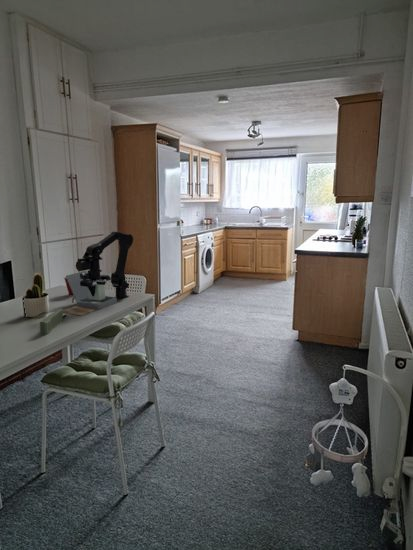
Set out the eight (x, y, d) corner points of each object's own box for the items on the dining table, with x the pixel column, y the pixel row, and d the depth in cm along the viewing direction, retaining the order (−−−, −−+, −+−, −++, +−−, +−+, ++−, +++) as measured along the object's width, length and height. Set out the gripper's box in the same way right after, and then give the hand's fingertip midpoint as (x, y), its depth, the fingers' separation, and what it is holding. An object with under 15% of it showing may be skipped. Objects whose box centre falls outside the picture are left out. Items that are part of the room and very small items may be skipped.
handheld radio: (39, 335, 166) (62, 317, 191) (46, 336, 166) (68, 318, 190) (38, 321, 165) (61, 305, 189) (45, 321, 165) (68, 305, 189)
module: (94, 296, 216) (93, 283, 214) (105, 298, 213) (104, 284, 211) (88, 298, 212) (87, 285, 210) (99, 300, 208) (98, 286, 207)
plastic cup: (85, 292, 240) (84, 274, 238) (79, 296, 230) (77, 278, 227) (69, 292, 241) (67, 274, 238) (62, 296, 230) (60, 277, 228)
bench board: (75, 306, 208) (75, 305, 208) (96, 310, 202) (96, 309, 202) (60, 312, 199) (60, 311, 198) (81, 316, 192) (81, 314, 192)
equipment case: (87, 298, 226) (85, 270, 223) (116, 302, 216) (115, 273, 213) (68, 304, 212) (65, 275, 209) (98, 309, 203) (96, 278, 199)
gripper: (95, 264, 220) (97, 290, 223) (71, 270, 204) (73, 297, 207) (109, 266, 215) (111, 291, 219) (86, 271, 199) (89, 299, 202)
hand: (96, 295), depth 212 cm, fingers closed on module, 5 cm apart
